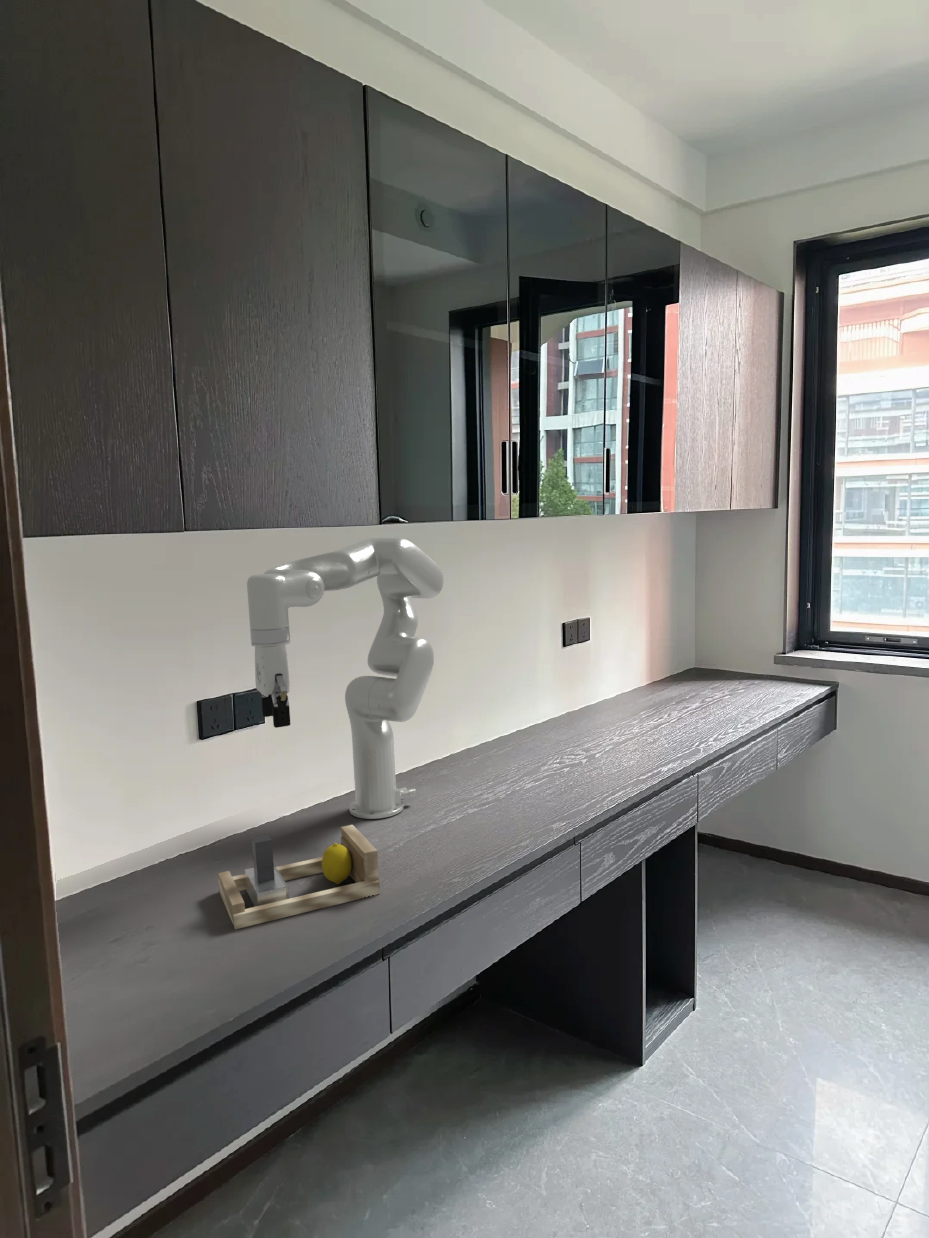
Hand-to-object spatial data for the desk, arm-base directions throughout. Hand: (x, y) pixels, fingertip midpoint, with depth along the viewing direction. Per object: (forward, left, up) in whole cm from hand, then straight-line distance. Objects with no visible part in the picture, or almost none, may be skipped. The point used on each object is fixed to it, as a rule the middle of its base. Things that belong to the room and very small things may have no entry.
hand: (276, 720), depth 169 cm
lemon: (-5, +18, -28) cm, 34 cm away
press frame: (+2, +18, -28) cm, 34 cm away
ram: (+8, +18, -28) cm, 34 cm away
